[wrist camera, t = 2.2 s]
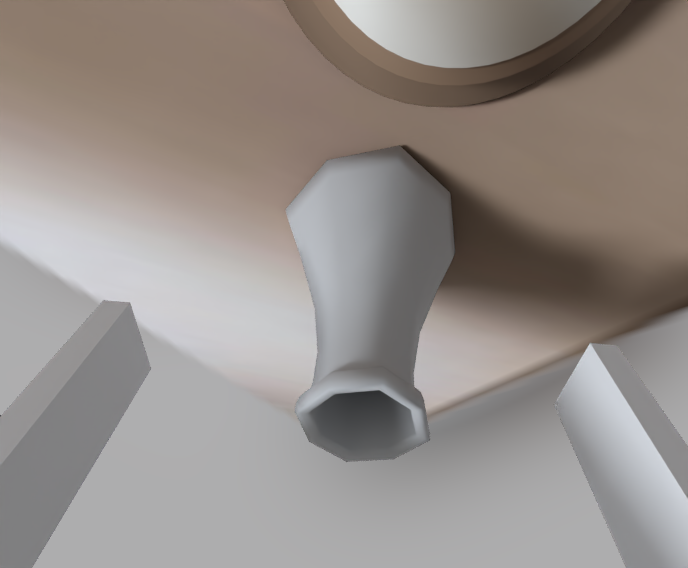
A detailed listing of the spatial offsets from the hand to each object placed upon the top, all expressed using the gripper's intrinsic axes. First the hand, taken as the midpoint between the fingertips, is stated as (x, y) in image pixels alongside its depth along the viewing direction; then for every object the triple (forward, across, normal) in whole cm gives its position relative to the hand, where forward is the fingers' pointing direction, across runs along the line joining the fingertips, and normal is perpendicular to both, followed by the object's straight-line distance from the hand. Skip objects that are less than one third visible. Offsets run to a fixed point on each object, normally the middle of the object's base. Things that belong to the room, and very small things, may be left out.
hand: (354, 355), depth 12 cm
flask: (+8, 0, 0) cm, 8 cm away
